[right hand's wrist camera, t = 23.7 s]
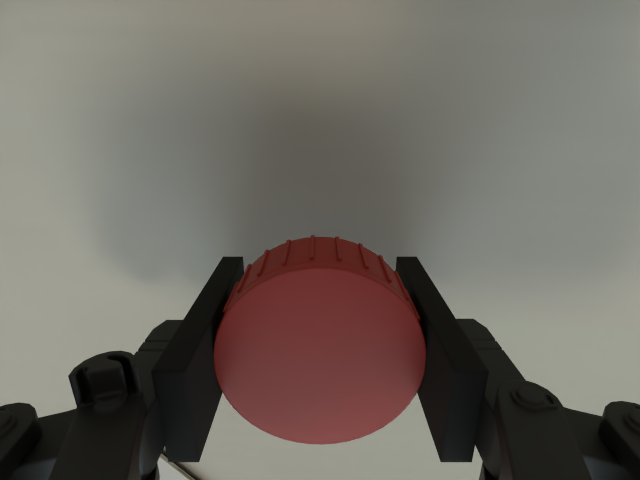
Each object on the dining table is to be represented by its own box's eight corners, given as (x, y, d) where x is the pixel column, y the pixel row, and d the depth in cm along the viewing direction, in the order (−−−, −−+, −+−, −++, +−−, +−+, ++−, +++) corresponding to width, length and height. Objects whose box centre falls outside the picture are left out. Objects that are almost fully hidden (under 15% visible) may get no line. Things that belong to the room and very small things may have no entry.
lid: (441, 271, 12) (470, 310, 10) (366, 409, 14) (375, 468, 12) (262, 206, 11) (248, 231, 9) (209, 361, 13) (187, 414, 11)
